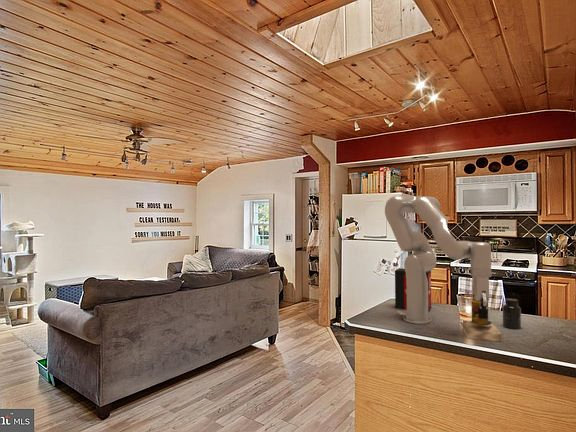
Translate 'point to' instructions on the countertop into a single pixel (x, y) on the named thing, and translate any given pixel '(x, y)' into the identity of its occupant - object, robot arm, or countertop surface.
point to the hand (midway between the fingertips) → (481, 315)
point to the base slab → (482, 332)
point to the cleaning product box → (402, 289)
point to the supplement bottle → (511, 314)
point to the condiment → (475, 314)
